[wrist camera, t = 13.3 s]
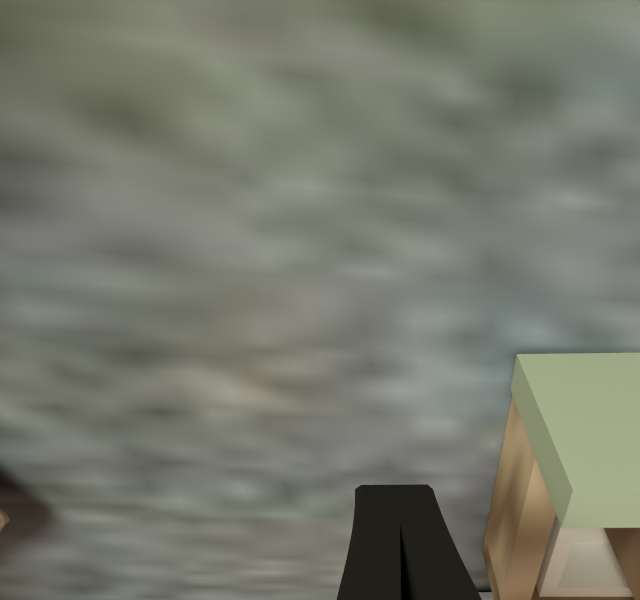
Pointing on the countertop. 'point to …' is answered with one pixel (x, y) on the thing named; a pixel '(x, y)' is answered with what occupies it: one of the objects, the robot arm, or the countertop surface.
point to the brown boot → (3, 519)
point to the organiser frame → (519, 520)
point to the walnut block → (627, 554)
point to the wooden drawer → (583, 462)
